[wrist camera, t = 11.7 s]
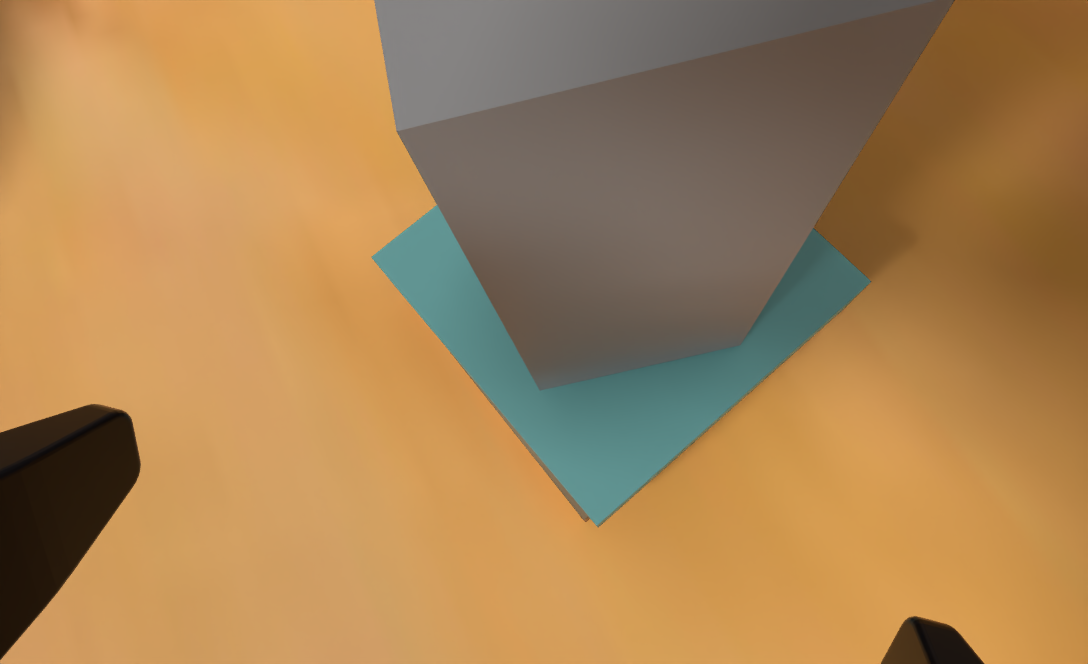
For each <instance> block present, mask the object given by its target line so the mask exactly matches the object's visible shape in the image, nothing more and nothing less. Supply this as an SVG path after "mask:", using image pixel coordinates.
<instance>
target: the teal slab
mask: <svg viewBox="0 0 1088 664" xmlns="http://www.w3.org/2000/svg"><path fill="white" fill-rule="evenodd" d="M372 259H373V260H374V261H375V262H376V263H377V265H378V266H379V267H380V268H381V270H382V271H383V272H384V273H385V274H386V276H387V277H388V278H389V279H390V281H391V282H392V283H393V284H394V285H395V287H396V288H397V289H398V290H399V291H400V293H401V294H402V295H403V296H404V297H405V299H406V300H407V301H408V302H409V303H410V304H411V306H412V307H413V308H414V309H415V310H416V312H417V313H418V314H419V315H420V316H421V318H422V319H423V320H424V321H425V322H426V324H427V325H428V326H429V327H430V328H431V329H432V331H433V332H434V333H435V334H436V335H437V337H438V338H439V339H440V340H441V341H442V343H443V344H444V345H445V346H446V347H447V349H448V350H449V351H450V352H451V353H452V354H453V356H454V357H455V358H456V359H457V360H458V362H459V363H460V364H461V365H462V366H463V368H464V369H465V370H466V371H467V372H468V373H469V375H470V376H471V377H472V378H473V379H474V381H475V382H476V383H477V384H478V385H479V387H480V388H481V389H482V390H483V391H484V393H485V394H486V395H487V396H488V397H489V398H490V400H491V401H492V402H493V403H494V404H495V406H496V407H497V408H498V409H499V410H500V412H501V413H502V414H503V415H504V416H505V418H506V419H507V420H508V421H509V422H510V423H511V425H512V426H513V427H514V428H515V429H516V431H517V432H518V433H519V434H520V435H521V437H522V438H523V439H524V440H525V441H526V443H527V444H528V445H529V446H530V447H531V448H532V450H533V451H534V452H535V453H536V454H537V456H538V457H539V458H540V459H541V460H542V462H543V463H544V464H545V465H546V466H547V467H548V469H549V470H550V471H551V472H552V473H553V475H554V476H555V477H556V478H557V479H558V481H559V482H560V483H561V484H562V485H563V487H564V488H565V489H566V490H567V491H568V492H569V494H570V495H571V496H572V497H573V498H574V500H575V501H576V502H577V503H578V504H579V506H580V507H581V508H582V509H583V510H584V512H585V513H586V514H587V515H588V516H589V517H590V519H591V520H592V521H593V522H594V523H595V525H596V526H597V527H599V526H601V525H602V524H603V523H604V522H605V521H606V520H607V519H608V518H610V517H611V516H612V515H613V514H614V513H615V512H616V511H617V510H619V509H620V508H621V507H622V506H623V505H624V504H625V503H626V502H628V501H629V500H630V499H631V498H632V497H633V496H634V495H635V494H637V493H638V492H639V491H640V490H641V489H642V488H643V487H644V486H646V485H647V484H648V483H649V482H650V481H651V480H652V479H653V478H654V477H656V476H657V475H658V474H659V473H660V472H661V471H662V470H663V469H665V468H666V467H667V466H668V465H669V464H670V463H671V462H672V461H674V460H675V459H676V458H677V457H678V456H679V455H680V454H681V453H683V452H684V451H685V450H686V449H687V448H688V447H689V446H690V445H692V444H693V443H694V442H695V441H696V440H697V439H698V438H699V437H701V436H702V435H703V434H704V433H705V432H706V431H707V430H708V429H710V428H711V427H712V426H713V425H714V424H715V423H716V422H717V421H719V420H720V419H721V418H722V417H723V416H724V415H725V414H726V413H728V412H729V411H730V410H731V409H732V408H733V407H734V406H735V405H736V404H738V403H739V402H740V401H741V400H742V399H743V398H744V397H745V396H747V395H748V394H749V393H750V392H751V391H752V390H753V389H754V388H756V387H757V386H758V385H759V384H760V383H761V382H762V381H763V380H765V379H766V378H767V377H768V376H769V375H770V374H771V373H772V372H774V371H775V370H776V369H777V368H778V367H779V366H780V365H781V364H783V363H784V362H785V361H786V360H787V359H788V358H789V357H790V356H792V355H793V354H794V353H795V352H796V351H797V350H798V349H799V348H801V347H802V346H803V345H804V344H805V343H806V342H807V341H808V340H810V339H811V338H812V337H813V336H814V335H815V334H816V333H817V332H818V331H820V330H821V329H822V328H823V327H824V326H825V325H826V324H827V323H829V322H830V321H831V320H832V319H833V318H834V317H835V316H836V315H838V314H839V313H840V312H841V311H842V310H843V309H844V308H845V307H846V306H847V305H848V304H849V303H850V302H851V301H852V300H853V299H854V298H855V297H856V296H857V295H858V294H859V293H860V292H861V291H862V290H863V289H864V288H865V287H866V286H867V285H868V284H869V283H870V282H871V281H870V280H869V279H868V278H867V277H866V276H865V275H864V274H863V273H862V272H861V271H859V270H858V269H857V268H856V267H855V266H854V265H853V264H852V263H851V262H850V261H849V260H848V259H846V258H845V257H844V256H843V255H842V254H841V253H840V252H839V251H838V250H837V249H836V248H835V247H833V246H832V245H831V244H830V243H829V242H828V241H827V240H826V239H825V238H824V237H823V236H822V235H820V234H819V233H818V232H817V231H816V230H815V229H814V228H813V229H812V231H811V232H810V234H809V235H808V237H807V239H806V240H805V242H804V244H803V245H802V247H801V248H800V250H799V252H798V253H797V255H796V256H795V258H794V260H793V261H792V263H791V264H790V266H789V268H788V269H787V271H786V273H785V274H784V276H783V277H782V279H781V281H780V282H779V284H778V285H777V287H776V289H775V290H774V292H773V293H772V295H771V297H770V298H769V300H768V302H767V303H766V305H765V306H764V308H763V310H762V311H761V313H760V314H759V316H758V318H757V319H756V321H755V322H754V324H753V326H752V327H751V329H750V330H749V332H748V334H747V335H746V337H745V339H744V340H743V342H742V343H741V345H739V346H735V347H730V348H726V349H722V350H717V351H713V352H708V353H704V354H700V355H695V356H691V357H686V358H682V359H677V360H673V361H669V362H664V363H660V364H655V365H651V366H647V367H642V368H638V369H633V370H629V371H624V372H620V373H616V374H611V375H607V376H602V377H598V378H593V379H589V380H585V381H580V382H576V383H571V384H567V385H563V386H558V387H554V388H549V389H545V390H539V388H538V387H537V385H536V383H535V381H534V379H533V378H532V376H531V374H530V372H529V370H528V368H527V367H526V365H525V363H524V361H523V359H522V358H521V356H520V354H519V352H518V350H517V349H516V347H515V345H514V343H513V341H512V339H511V338H510V336H509V334H508V332H507V330H506V329H505V327H504V325H503V323H502V321H501V320H500V318H499V316H498V314H497V312H496V310H495V309H494V307H493V305H492V303H491V301H490V300H489V298H488V296H487V294H486V292H485V290H484V289H483V287H482V285H481V283H480V281H479V280H478V278H477V276H476V274H475V272H474V271H473V269H472V267H471V265H470V263H469V261H468V260H467V258H466V256H465V254H464V252H463V251H462V249H461V247H460V245H459V243H458V242H457V240H456V238H455V236H454V234H453V232H452V231H451V229H450V227H449V225H448V223H447V222H446V220H445V218H444V216H443V214H442V213H441V211H440V209H439V207H438V205H436V206H435V207H434V208H433V209H431V210H430V211H429V212H428V213H426V214H425V215H424V216H422V217H421V218H420V219H419V220H417V221H416V222H415V223H414V224H412V225H411V226H410V227H409V228H407V229H406V230H405V231H404V232H402V233H401V234H400V235H399V236H397V237H396V238H395V239H393V240H392V241H391V242H390V243H388V244H387V245H386V246H385V247H383V248H382V249H381V250H380V251H378V252H377V253H376V254H375V255H373V256H372Z"/></svg>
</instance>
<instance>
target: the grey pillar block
mask: <svg viewBox="0 0 1088 664" xmlns="http://www.w3.org/2000/svg"><path fill="white" fill-rule="evenodd" d="M374 1H375V7H376V13H377V19H378V25H379V30H380V36H381V42H382V48H383V54H384V60H385V66H386V71H387V77H388V83H389V89H390V95H391V101H392V107H393V112H394V118H395V124H396V130H397V133H398V135H399V136H400V138H401V140H402V142H403V144H404V145H405V147H406V149H407V151H408V153H409V155H410V156H411V158H412V160H413V162H414V164H415V165H416V167H417V169H418V171H419V173H420V174H421V176H422V178H423V180H424V182H425V184H426V185H427V187H428V189H429V191H430V193H431V194H432V196H433V198H434V200H435V202H436V203H437V205H438V207H439V209H440V211H441V213H442V214H443V216H444V218H445V220H446V222H447V223H448V225H449V227H450V229H451V231H452V232H453V234H454V236H455V238H456V240H457V242H458V243H459V245H460V247H461V249H462V251H463V252H464V254H465V256H466V258H467V260H468V261H469V263H470V265H471V267H472V269H473V271H474V272H475V274H476V276H477V278H478V280H479V281H480V283H481V285H482V287H483V289H484V290H485V292H486V294H487V296H488V298H489V300H490V301H491V303H492V305H493V307H494V309H495V310H496V312H497V314H498V316H499V318H500V320H501V321H502V323H503V325H504V327H505V329H506V330H507V332H508V334H509V336H510V338H511V339H512V341H513V343H514V345H515V347H516V349H517V350H518V352H519V354H520V356H521V358H522V359H523V361H524V363H525V365H526V367H527V368H528V370H529V372H530V374H531V376H532V378H533V379H534V381H535V383H536V385H537V387H538V388H539V390H545V389H549V388H554V387H558V386H563V385H567V384H571V383H576V382H580V381H585V380H589V379H593V378H598V377H602V376H607V375H611V374H616V373H620V372H624V371H629V370H633V369H638V368H642V367H647V366H651V365H655V364H660V363H664V362H669V361H673V360H677V359H682V358H686V357H691V356H695V355H700V354H704V353H708V352H713V351H717V350H722V349H726V348H730V347H735V346H739V345H741V343H742V342H743V340H744V339H745V337H746V335H747V334H748V332H749V330H750V329H751V327H752V326H753V324H754V322H755V321H756V319H757V318H758V316H759V314H760V313H761V311H762V310H763V308H764V306H765V305H766V303H767V302H768V300H769V298H770V297H771V295H772V293H773V292H774V290H775V289H776V287H777V285H778V284H779V282H780V281H781V279H782V277H783V276H784V274H785V273H786V271H787V269H788V268H789V266H790V264H791V263H792V261H793V260H794V258H795V256H796V255H797V253H798V252H799V250H800V248H801V247H802V245H803V244H804V242H805V240H806V239H807V237H808V235H809V234H810V232H811V231H812V229H813V227H814V226H815V224H816V223H817V221H818V219H819V218H820V216H821V215H822V213H823V211H824V210H825V208H826V206H827V205H828V203H829V202H830V200H831V198H832V197H833V195H834V194H835V192H836V190H837V189H838V187H839V186H840V184H841V182H842V181H843V179H844V178H845V176H846V174H847V173H848V171H849V169H850V168H851V166H852V165H853V163H854V161H855V160H856V158H857V157H858V155H859V153H860V152H861V150H862V149H863V147H864V145H865V144H866V142H867V140H868V139H869V137H870V136H871V134H872V132H873V131H874V129H875V128H876V126H877V124H878V123H879V121H880V120H881V118H882V116H883V115H884V113H885V111H886V110H887V108H888V107H889V105H890V103H891V102H892V100H893V99H894V97H895V95H896V94H897V92H898V91H899V89H900V87H901V86H902V84H903V82H904V81H905V79H906V78H907V76H908V74H909V73H910V71H911V70H912V68H913V66H914V65H915V63H916V62H917V60H918V58H919V57H920V55H921V53H922V52H923V50H924V49H925V47H926V45H927V44H928V42H929V41H930V39H931V37H932V36H933V34H934V33H935V31H936V29H937V28H938V26H939V25H940V23H941V21H942V20H943V18H944V16H945V15H946V13H947V12H948V10H949V8H950V7H951V5H952V4H953V2H954V0H374Z"/></svg>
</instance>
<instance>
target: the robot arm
mask: <svg viewBox="0 0 1088 664" xmlns="http://www.w3.org/2000/svg"><path fill="white" fill-rule="evenodd" d="M140 466H141V463H140V457H139V452H138V447H137V442H136V437H135V432H134V427H133V422H132V419H131V417H130V416H129V415H128V414H127V413H126V412H124V411H122V410H119V409H115V408H111V407H107V406H103V405H98V404H91V405H87V406H83V407H80V408H77V409H74V410H71V411H67V412H64V413H61V414H58V415H55V416H52V417H48V418H45V419H42V420H39V421H36V422H32V423H29V424H26V425H23V426H20V427H17V428H13V429H10V430H7V431H4V432H1V433H0V660H1V659H2V658H3V656H4V655H5V654H6V653H7V652H8V651H9V649H10V648H11V647H12V646H13V645H14V644H15V642H16V641H17V640H18V639H19V638H20V637H21V635H22V634H23V633H24V632H25V631H26V630H27V628H28V627H29V626H30V625H31V624H32V622H33V621H34V620H35V619H36V618H37V617H38V615H39V614H40V613H41V612H42V611H43V610H44V608H45V607H46V606H47V605H48V603H49V602H50V601H51V600H52V599H53V597H54V596H55V595H56V594H57V592H58V591H59V590H60V588H61V587H62V586H63V584H64V583H65V582H66V580H67V579H68V578H69V576H70V575H71V574H72V572H73V571H74V570H75V568H76V567H77V565H78V564H79V562H80V561H81V560H82V558H83V557H84V555H85V554H86V553H87V551H88V550H89V548H90V547H91V545H92V544H93V543H94V541H95V540H96V538H97V537H98V536H99V534H100V533H101V531H102V530H103V529H104V527H105V526H106V524H107V523H108V521H109V520H110V519H111V517H112V516H113V514H114V513H115V512H116V510H117V509H118V507H119V506H120V504H121V503H122V502H123V500H124V499H125V497H126V496H127V495H128V493H129V492H130V490H131V489H132V487H133V486H134V484H135V483H136V481H137V478H138V476H139V473H140ZM881 664H984V663H983V661H982V660H981V659H980V658H979V657H978V655H977V654H976V653H975V652H974V650H973V649H972V648H971V647H970V646H969V644H968V643H967V642H966V641H965V640H964V638H963V637H962V636H961V635H960V634H959V633H958V632H957V631H956V630H955V629H954V628H953V627H951V626H949V625H947V624H944V623H940V622H936V621H932V620H929V619H925V618H921V617H917V616H913V617H909V618H907V619H906V620H905V621H904V623H903V624H902V625H901V627H900V629H899V631H898V633H897V635H896V636H895V638H894V640H893V642H892V644H891V646H890V647H889V649H888V651H887V653H886V655H885V657H884V658H883V660H882V662H881Z"/></svg>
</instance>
